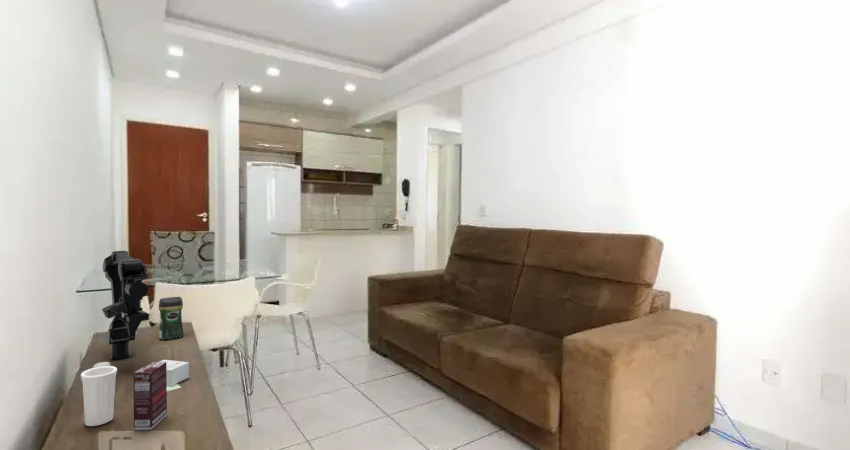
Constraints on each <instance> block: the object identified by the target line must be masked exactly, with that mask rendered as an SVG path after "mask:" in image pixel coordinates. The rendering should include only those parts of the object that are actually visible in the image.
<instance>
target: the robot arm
mask: <svg viewBox="0 0 850 450" xmlns="http://www.w3.org/2000/svg"><path fill="white" fill-rule="evenodd" d="M147 269H148V268H147V265H145V262H143V260H141V259H140V258H139V259H138V258H133V257H132V256H131V255H130V254H129V252H128V251H127V250H115V251H112V252H111V254H110V255H109V256H107V257H106V258H104V259H103V263H102V271H103V273H104V276H105V278H106V279H107V280H108V282H109V283H110V287H111V288H110V291H111V301H112V304H110V305H107V306H105V307H103V308H101V311H102V312H103V315H104V317H105V318H106V319H112V321H111V322H110V324H109V326H108V327H109V328H108V329H107V333H106V336H105V339H106V340H105V341H106V343H107V344H108V345H109V346H110V345H111V353H110V354H109V358H110V360H111V361H115V360H121V359H126V358H131V357H132V355H131V352H130V342H131V341H132V342H133V341H135V340H136V332H137V330H138V329H139V327H140V326H141V325H140V324H141V323H142V322H144V321H146V322H147V321H149V320H150V314H149V313H148V312H146V311H144V310H143V307H142V304H141V303H142V300H143V298H144V297H146V295H148V292H149V288H148V285H147V284H146V283H144V282H143V280H147V279H148V275H149V273H148V270H147Z"/></svg>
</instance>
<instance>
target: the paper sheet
mask: <svg viewBox="0 0 850 450" xmlns="http://www.w3.org/2000/svg"><path fill="white" fill-rule="evenodd" d="M179 389H182V386H180V385H179V383H177V384H175V385H173V386H167V393H168V392H172V391H176V390H179Z"/></svg>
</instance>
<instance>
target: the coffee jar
mask: <svg viewBox="0 0 850 450" xmlns="http://www.w3.org/2000/svg"><path fill="white" fill-rule="evenodd" d="M183 306H184V302H183V298H182V297H181V296H170V297H163V298H160V299H159V301H158V310H159V313H160V314H159V315H160V317H159V328H158V338H159V340H160V339H161V340H162V341H166V340H165V339H170V340H172V339H171V338H176V339H178V338H177V337H180V336H182V337H183V336H184V328H183V327H184V326H183V320H182V319H183V317H182V309H183V308H184V307H183ZM180 338H181V337H180Z"/></svg>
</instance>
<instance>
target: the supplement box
mask: <svg viewBox="0 0 850 450" xmlns="http://www.w3.org/2000/svg"><path fill="white" fill-rule="evenodd" d="M132 381H133V431H152V430H153V429H154V428H155V427H157V425H158V424H159V423H160V422H161V421H162V420H163V419H164V418H165V417H167V416H168V405H167V404H168V402H167V401H168V400H167V399H168V398H167V394H168V392H167V374H166V362H159V361H149V362H148V363H147V364H145V365H144V366H142V367H140V368H139V369H138V370H135V371H134V372H133V380H132Z"/></svg>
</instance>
